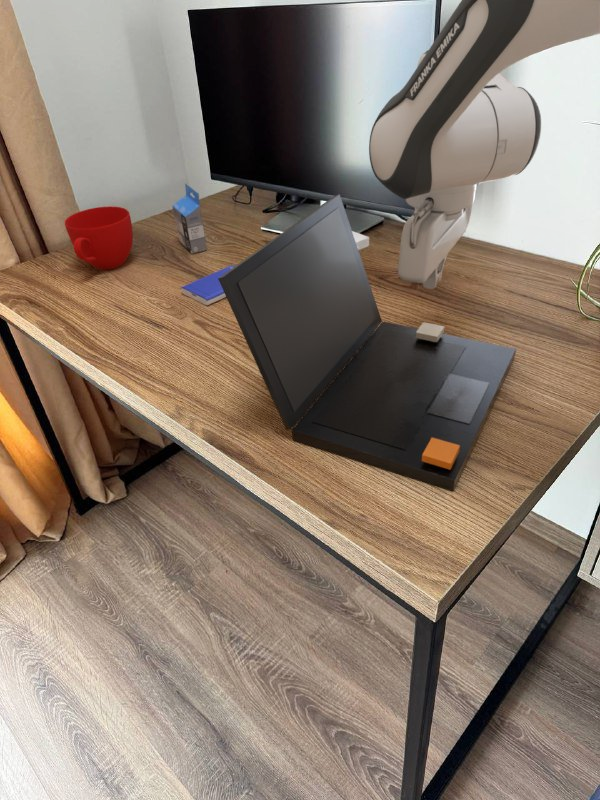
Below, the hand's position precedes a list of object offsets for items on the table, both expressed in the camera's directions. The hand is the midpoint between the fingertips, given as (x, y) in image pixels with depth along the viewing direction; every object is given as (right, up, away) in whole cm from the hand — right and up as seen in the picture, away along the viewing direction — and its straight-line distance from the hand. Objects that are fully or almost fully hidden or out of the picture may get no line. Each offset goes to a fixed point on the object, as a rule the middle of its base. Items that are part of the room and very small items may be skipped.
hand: (432, 284), depth 84 cm
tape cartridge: (-43, +17, +46) cm, 65 cm away
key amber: (-3, -24, -16) cm, 29 cm away
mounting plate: (-13, +16, +41) cm, 46 cm away
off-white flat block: (+1, -7, +5) cm, 9 cm away
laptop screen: (-17, -3, -4) cm, 18 cm away
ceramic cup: (-60, +11, +39) cm, 73 cm away
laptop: (-4, -16, -3) cm, 17 cm away
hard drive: (-34, +5, +28) cm, 44 cm away
